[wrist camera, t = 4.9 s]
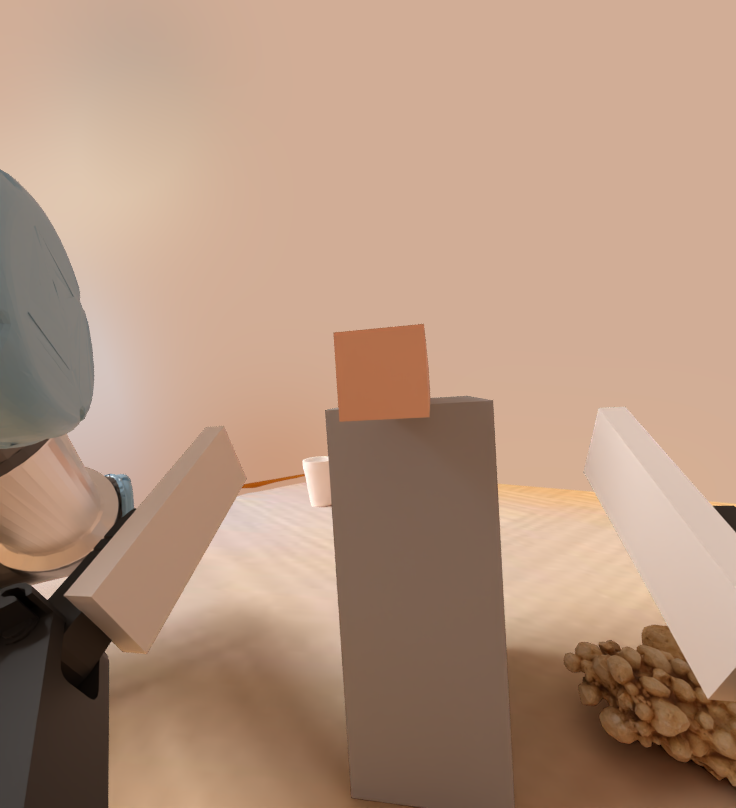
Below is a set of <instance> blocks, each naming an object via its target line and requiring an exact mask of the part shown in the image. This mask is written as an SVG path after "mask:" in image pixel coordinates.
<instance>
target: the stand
mask: <svg viewBox="0 0 736 808" xmlns="http://www.w3.org/2000/svg"><path fill="white" fill-rule="evenodd" d="M325 414H326V429H327V444H328V459H329V473H330V488H331V503H332V518H333V533H334V547H335V562H336V577H337V592H338V607H339V621H340V636H341V651H342V666H343V680H344V695H345V710H346V725H347V740H348V754H349V769H350V784H351V798H357V799H364V800H371V801H379V802H386V803H393V804H400V805H407V806H414V807H422V808H515V801H514V783H513V764H512V745H511V727H510V708H509V690H508V671H507V652H506V634H505V615H504V596H503V578H502V559H501V540H500V522H499V503H498V484H497V466H496V449H495V448H496V447H495V430H494V429H495V428H494V411H493V400H487V399H481V398H475V397H470V396H457V397H440V398H430V415H429V417H423V418H403V419H384V420H364V421H344V422H339V408H334V409H328V410H325Z"/></svg>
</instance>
